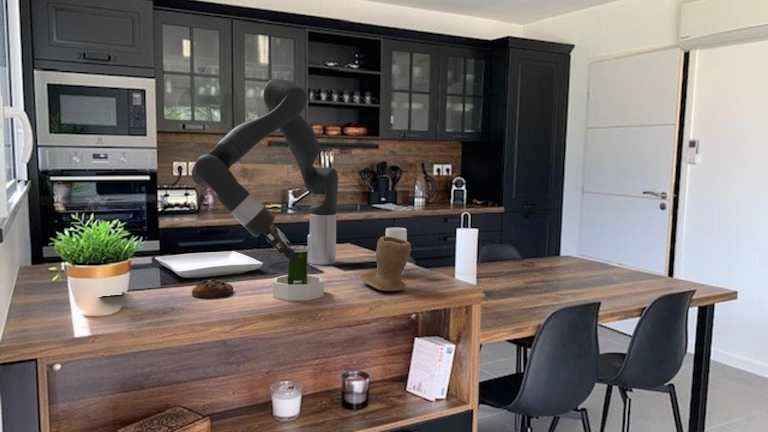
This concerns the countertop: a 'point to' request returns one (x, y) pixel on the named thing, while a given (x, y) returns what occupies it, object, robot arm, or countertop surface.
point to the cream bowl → (298, 288)
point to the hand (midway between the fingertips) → (296, 257)
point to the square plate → (209, 264)
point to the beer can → (298, 266)
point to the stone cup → (389, 264)
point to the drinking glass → (397, 234)
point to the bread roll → (212, 289)
